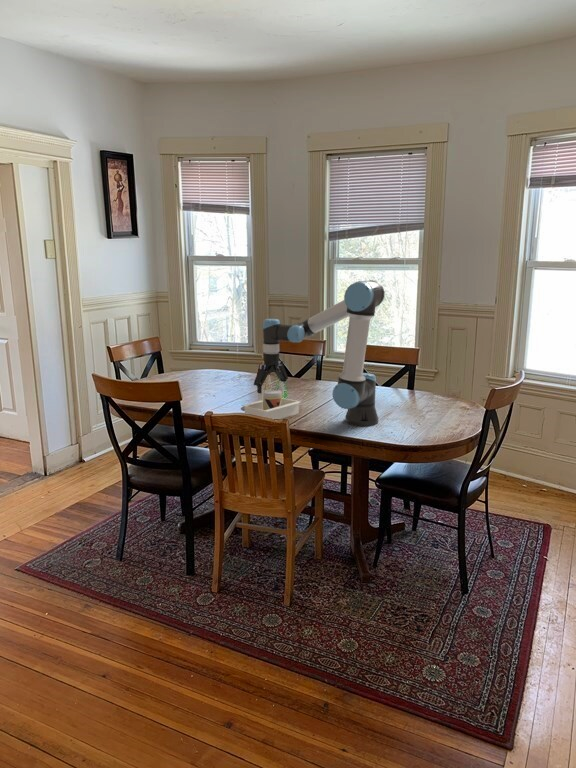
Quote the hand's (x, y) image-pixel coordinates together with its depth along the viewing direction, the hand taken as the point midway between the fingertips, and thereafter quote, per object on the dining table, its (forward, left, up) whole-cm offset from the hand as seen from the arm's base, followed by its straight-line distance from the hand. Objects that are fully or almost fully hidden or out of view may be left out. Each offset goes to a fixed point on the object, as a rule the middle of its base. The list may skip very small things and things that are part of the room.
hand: (271, 397), depth 269 cm
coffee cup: (0, 0, -9) cm, 9 cm away
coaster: (+16, -2, -9) cm, 18 cm away
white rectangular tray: (0, 0, -9) cm, 9 cm away
